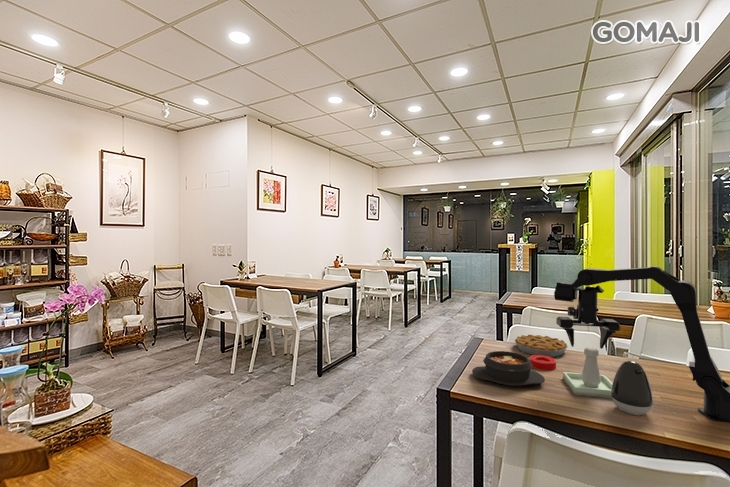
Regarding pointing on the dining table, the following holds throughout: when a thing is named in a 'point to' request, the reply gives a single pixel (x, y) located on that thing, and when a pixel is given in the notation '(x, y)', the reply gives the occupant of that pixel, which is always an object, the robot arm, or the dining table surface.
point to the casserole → (508, 369)
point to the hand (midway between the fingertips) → (586, 347)
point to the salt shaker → (591, 368)
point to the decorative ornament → (543, 362)
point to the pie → (541, 345)
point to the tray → (580, 389)
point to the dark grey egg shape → (632, 389)
